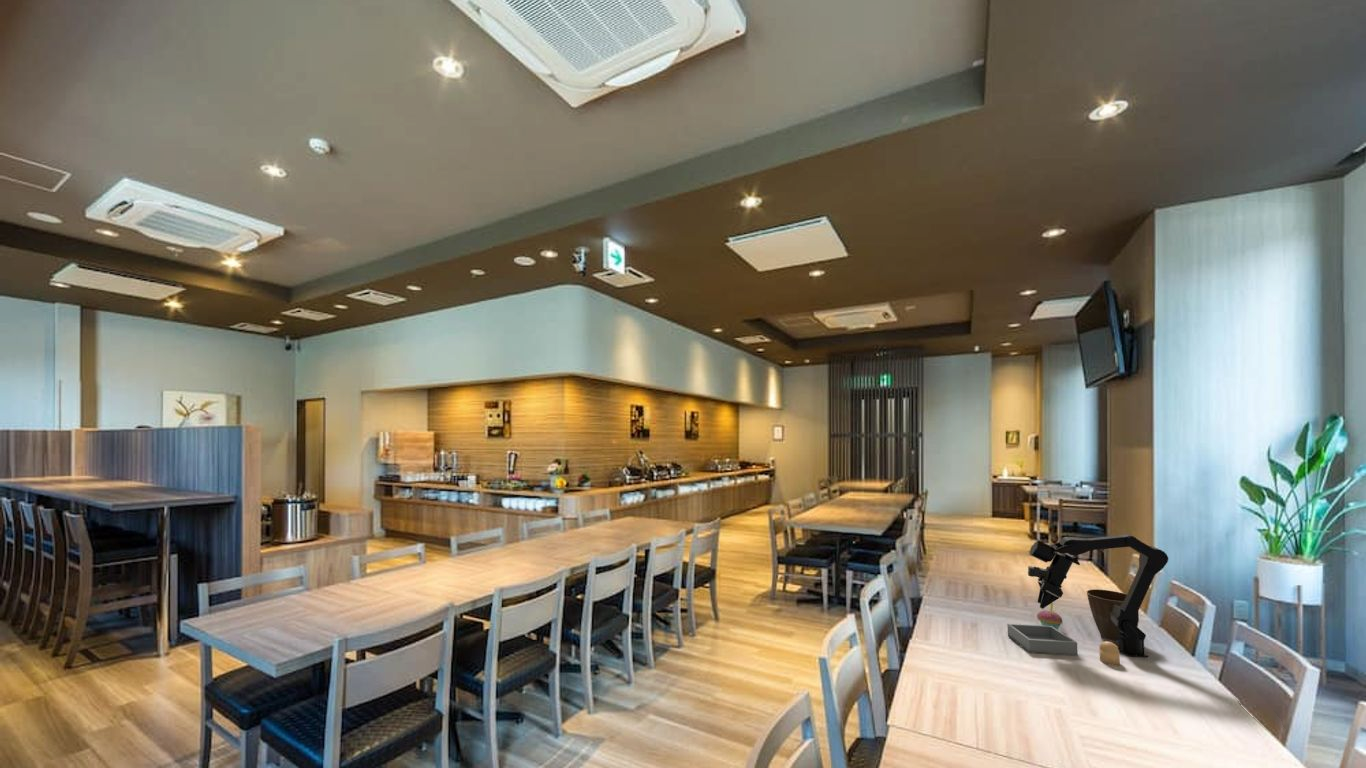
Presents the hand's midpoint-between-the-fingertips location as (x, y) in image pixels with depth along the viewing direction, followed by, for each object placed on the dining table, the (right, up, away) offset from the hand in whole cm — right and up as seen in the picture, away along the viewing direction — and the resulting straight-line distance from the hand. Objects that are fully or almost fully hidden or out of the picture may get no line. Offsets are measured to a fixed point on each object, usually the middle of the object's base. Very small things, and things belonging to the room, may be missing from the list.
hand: (1040, 605), depth 204 cm
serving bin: (-3, -13, -5) cm, 14 cm away
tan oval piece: (+12, -12, -18) cm, 25 cm away
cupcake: (+11, -14, +11) cm, 21 cm away
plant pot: (+30, -14, +4) cm, 34 cm away
